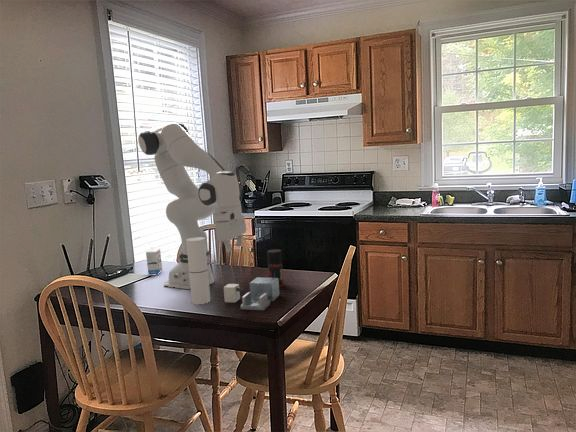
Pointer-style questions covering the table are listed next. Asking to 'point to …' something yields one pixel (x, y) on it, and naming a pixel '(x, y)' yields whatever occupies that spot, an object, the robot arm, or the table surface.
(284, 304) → the table surface
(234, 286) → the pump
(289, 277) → the table surface
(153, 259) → the ink box
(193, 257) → the cylindrical container
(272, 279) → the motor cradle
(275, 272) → the deodorant
